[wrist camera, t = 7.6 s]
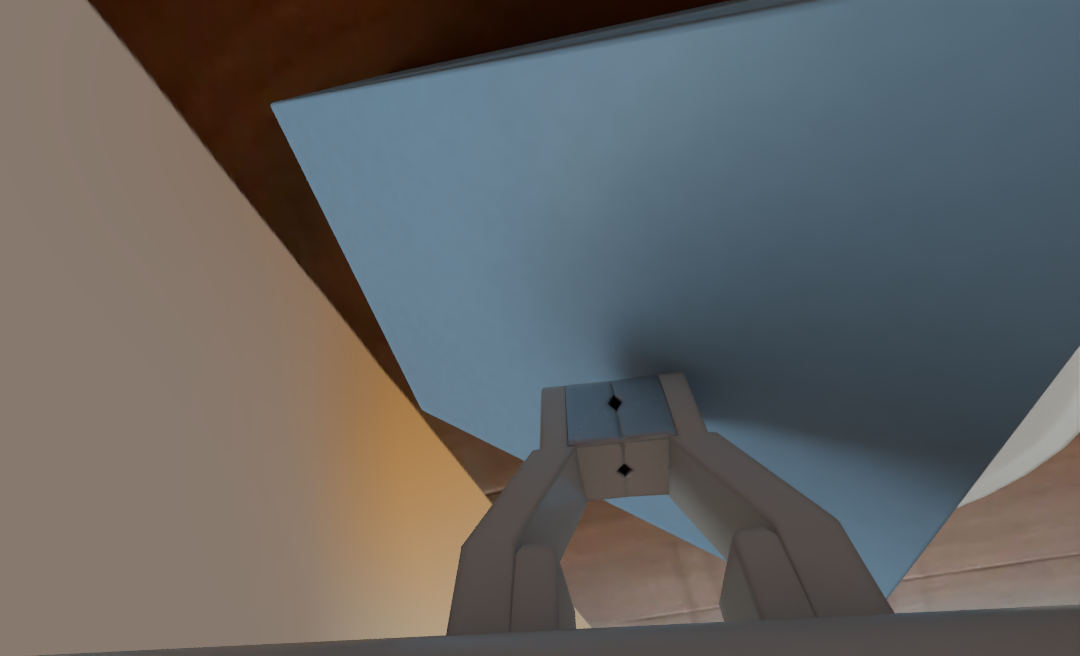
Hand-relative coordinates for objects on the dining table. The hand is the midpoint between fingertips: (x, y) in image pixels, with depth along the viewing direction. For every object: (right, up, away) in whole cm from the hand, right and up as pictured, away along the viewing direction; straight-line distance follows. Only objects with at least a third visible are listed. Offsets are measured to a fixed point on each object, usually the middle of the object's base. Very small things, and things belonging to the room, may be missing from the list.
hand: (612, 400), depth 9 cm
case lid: (-1, +2, +2) cm, 3 cm away
